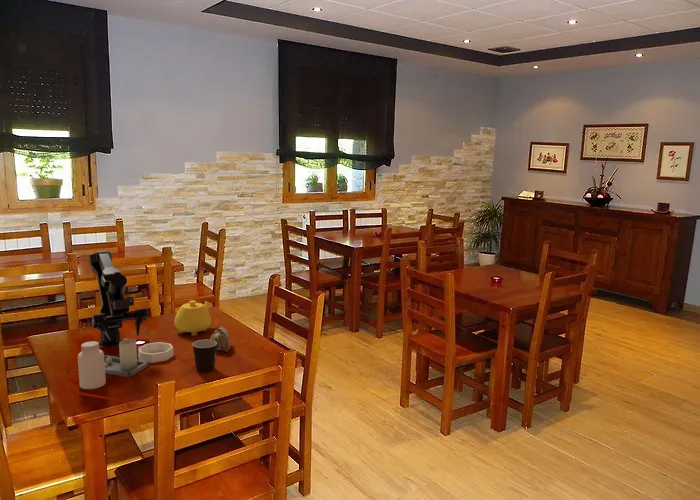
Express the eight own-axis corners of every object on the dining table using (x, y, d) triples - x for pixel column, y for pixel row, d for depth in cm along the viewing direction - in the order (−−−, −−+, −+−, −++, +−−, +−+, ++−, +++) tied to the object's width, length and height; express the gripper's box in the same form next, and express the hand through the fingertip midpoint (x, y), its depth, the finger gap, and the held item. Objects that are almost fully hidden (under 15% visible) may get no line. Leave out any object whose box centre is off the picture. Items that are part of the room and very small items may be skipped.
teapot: (196, 320, 251) (195, 292, 249) (224, 325, 246) (223, 296, 243) (166, 333, 233) (165, 303, 231) (196, 339, 227) (195, 308, 225)
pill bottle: (85, 381, 184) (82, 339, 182) (109, 381, 185) (107, 339, 182) (75, 391, 177) (72, 348, 174) (100, 391, 177) (98, 348, 175)
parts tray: (83, 371, 192) (83, 363, 191) (105, 360, 202) (104, 352, 202) (129, 379, 187) (129, 370, 186) (149, 367, 197) (148, 359, 197)
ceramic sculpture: (234, 322, 223) (228, 337, 209) (235, 341, 225) (229, 357, 211) (208, 322, 223) (201, 337, 208) (209, 341, 225) (202, 357, 210)
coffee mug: (210, 375, 192) (210, 349, 190) (188, 372, 194) (188, 346, 192) (224, 363, 203) (224, 338, 202) (203, 360, 205) (203, 335, 203)
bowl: (132, 361, 202) (132, 351, 201) (152, 350, 213) (151, 340, 213) (160, 365, 199) (160, 355, 198) (178, 354, 210) (178, 344, 210)
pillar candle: (116, 371, 191) (115, 340, 189) (127, 365, 197) (125, 335, 194) (130, 373, 190) (129, 342, 188) (140, 367, 195) (139, 337, 193)
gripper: (91, 293, 191) (98, 331, 184) (145, 287, 201) (154, 323, 194) (89, 308, 199) (95, 346, 192) (141, 302, 209) (150, 337, 202)
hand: (124, 338), depth 195 cm, fingers open, 9 cm apart
